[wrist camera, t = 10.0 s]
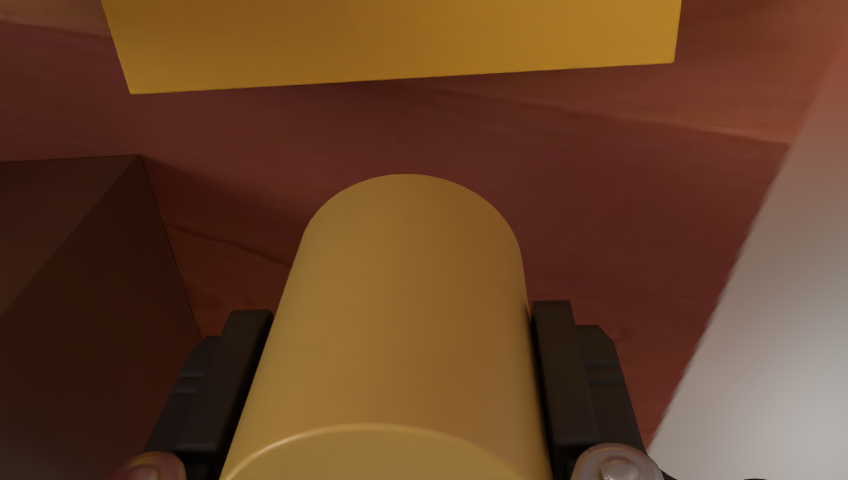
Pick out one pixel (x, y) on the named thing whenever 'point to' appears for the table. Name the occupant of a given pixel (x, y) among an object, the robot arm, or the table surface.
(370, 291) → the tea tin
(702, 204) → the table surface
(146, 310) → the block
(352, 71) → the yellow block
